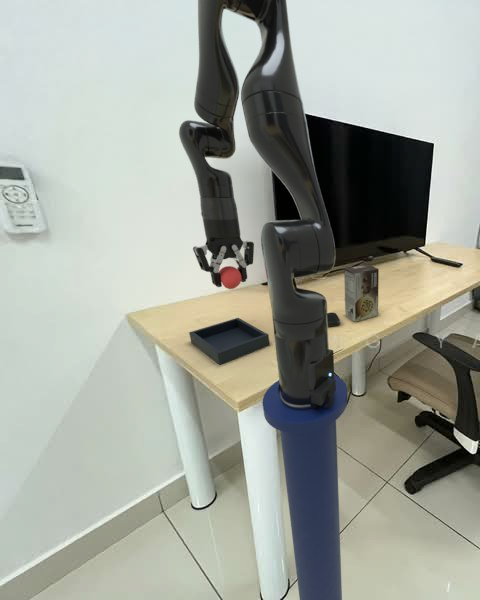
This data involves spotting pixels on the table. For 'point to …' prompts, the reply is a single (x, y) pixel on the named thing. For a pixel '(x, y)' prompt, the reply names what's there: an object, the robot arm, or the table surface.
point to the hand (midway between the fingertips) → (231, 283)
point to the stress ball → (230, 277)
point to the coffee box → (361, 292)
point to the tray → (229, 340)
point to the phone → (333, 319)
